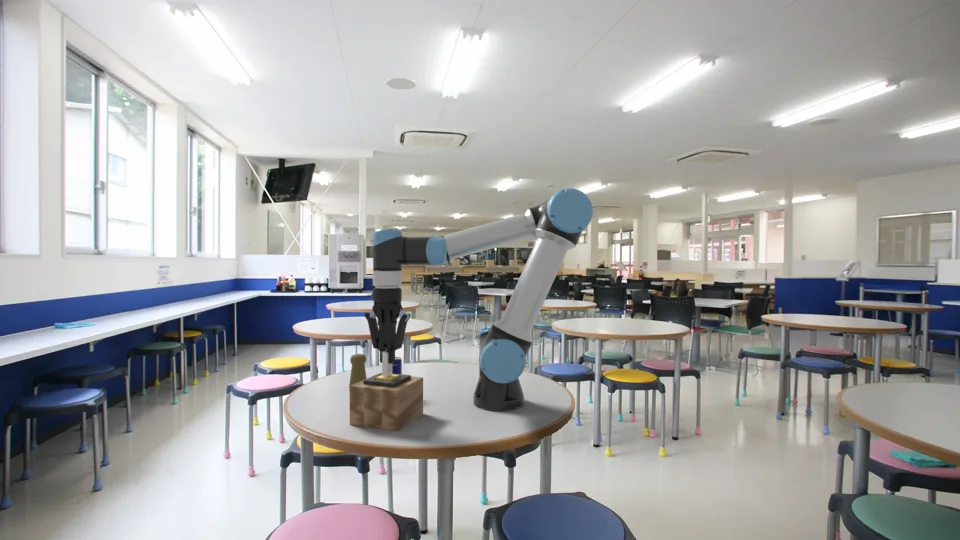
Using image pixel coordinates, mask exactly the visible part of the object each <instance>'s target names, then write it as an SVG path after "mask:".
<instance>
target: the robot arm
mask: <svg viewBox="0 0 960 540" xmlns="http://www.w3.org/2000/svg"><path fill="white" fill-rule="evenodd" d="M593 208H594V207H593V203H592V202H591V199H590V198H589V196H588V195H586V193H584V192H583V191H581V190H580V189H577V188H573V187H572V188H571V187H570V188H564V189H562V188H561V189H560V190H557V191H555V192H554V193H553V194H552V195H551V196H550V197H549V198H548V200H546V201H544V202H543V203H541V204H539V205H536V206H534V207H529V208H526V211H525V212H524V213H521V214H517V215H513V216H511V217H506V218H503V219H502V218H501V219H499V220H496V221H493V222H491V221H490V222H488V223H484V224H481V225H477V226H475V227H470V228H466V229H463V230H460V231H455V232H452V233H449V234H448V233H447V234H444V235H441V236H412V237H409V236H403V232H402V231H401V230H400V229H397V228H378V229H376V230H375V231H373V240H372V242H373V243H372V266H373V268H372V286H374V287H373V289H372V302H373V306H372V308H371V310H370V311H368V312H364V317H365V320H366V321H367V324H368V329H369V334H370V338H371V344H372V347H373V349H375V350H376V349H377V350H378V351H379V362H380V364H381V365H382V367H381V373H382V376H384V377H388V376H390V375H392V363H394V362H395V357H396V351H397V350H399V349H402V347H403V343H404V339H405V334H406V329H407V325H408V322H409V320H410V318H411V314H410V313H407V312H406V311H404V310H403V309H404V308H403V306H402V300H403V299H402V298H403V293H402V291H403V290H402V288H401V287H402V284H403V283H402V270H403V269H402V266H403V265H404V266H411V265H412V266H429V267H431V266H432V267H433V266H441V265H443V266H444V265H445V264H446V263H447V261H452V260H454V259H458V258H459V259H460V258H462V257H466V256H469V255H473V254H477V253H481V252H484V251H488V250H492V249H495V248H499V247H502V246H505V245H510V244H513V243H517V242H521V241H524V240H525V241H526V240H528V239H533V240H535V243H534V245H533V247H532V250H531V252H530V254H529V256H528V259H527V260H526V263H525V265H524V267H523V269H522V272H521V274H520V276H519V278H518V281H517V283H516V285H515V287H514V290H513V292H512V294H511V296H510V299H509V301H508V303H507V306H506V308H505V310H504V312H503V314H502V316H501V319H499V320H497V321H494V322H493V323H492V324H491V325H487V326H485V325H484V326H481V327H480V328H479V333H478V338H479V340H478V342H479V343H478V345H479V346H478V347H479V349H478V350H479V353H478V354H479V356H478V362H479V363H478V365H479V368H478V369H479V370H478V371H479V372H478V373H479V375H478V376H479V377H478V380H477V383H476V387H475V390H474V392H473V404H474V406H476V407H477V408H479V409H483V410H488V411H511V410H516V409H519V408H522V407H524V404H525V395H524V391H523V389H522V385H521V383H520V377H521V375H522V374H523V372H524V371H525V368H526V364H527V363H526V362H527V355H528V353H529V351H530V349H531V347H532V344H533V342H534V339H533V337H532V333H531V332H532V331H533V328H534V326H535V323H536V322H537V319H538V316H539V314H540V312H541V310H542V308H543V306H544V304H545V301H546V299H547V297H548V294H549V292H550V290H551V287H552V285H553V283H554V281H555V279H556V277H557V275H558V272H559V270H560V268H561V265H562V263H563V261H564V259H565V257H566V255H567V252H569V250H572V249H575V248H576V246H577V244H578V243H579V240H580V237H581V235H582V233H583V231H584V230H585V229H586V228H587V227H588V226H589V225H590V223H591V222H592V218H593V215H594V209H593ZM400 286H401V287H400ZM398 319H399V320H398Z"/></svg>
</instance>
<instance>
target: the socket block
mask: <svg viewBox="0 0 960 540" xmlns="http://www.w3.org/2000/svg"><path fill="white" fill-rule="evenodd" d="M381 375H382V372H381V373H377V374H375V375H372V376H369V377H366V378H367V379H365V380H362V381H360V382H358V383H355V384H353V385H351V386H350V388H349V426H350V425H351V426H356V427H357V426H358V427H365V428H370V429H371V428H372V429H377V430H378V429H379V430H385V431H393V432H399V431H400V430H401V429H403V428H404V427H406V426H407V425H409V424H411V423H412V422H413V421H414V420H416V419H417V418H419V417H420V416H422V415H424V377H421V376H412V375H411V374H403V373H402V374H394V375H399V378H397V379H395V380H393V381H384V380H376V377H378V376H381Z"/></svg>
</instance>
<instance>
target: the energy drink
mask: <svg viewBox="0 0 960 540" xmlns="http://www.w3.org/2000/svg"><path fill="white" fill-rule="evenodd" d="M402 363H403V360H402V357H401V356H395V362H394V363H392V374H403V372H402V371H403V367H402V365H403V364H402Z"/></svg>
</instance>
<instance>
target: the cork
mask: <svg viewBox="0 0 960 540" xmlns="http://www.w3.org/2000/svg"><path fill="white" fill-rule="evenodd" d="M349 361H350V364H351V370H350V378H349V384H348V385H349V386H348V388H349V389H350V386H351V385H353V384H355V383H358V382H360V381H362V380H365V379H367V378H368V377H367V372H366V363H367V362H366V361H367V356H366V355H365V354H364V353H355V354H352V355H351V356H350V359H349Z"/></svg>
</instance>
